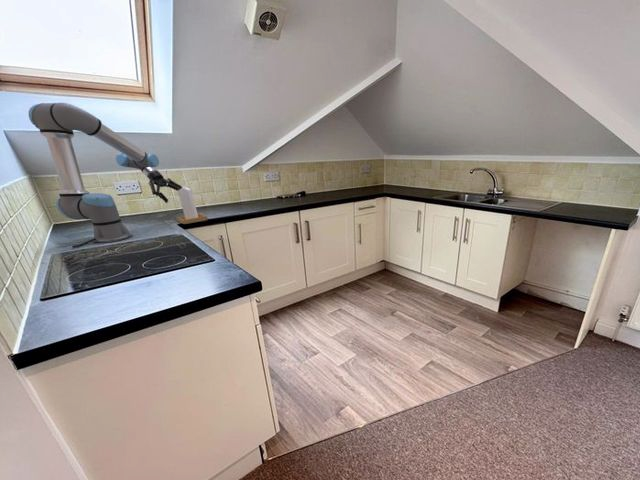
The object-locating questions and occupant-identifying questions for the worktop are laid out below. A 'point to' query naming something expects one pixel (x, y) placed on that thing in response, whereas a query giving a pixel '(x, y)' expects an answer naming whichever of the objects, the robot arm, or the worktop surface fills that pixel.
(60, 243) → the worktop surface
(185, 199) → the milk
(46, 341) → the worktop surface
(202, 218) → the tray
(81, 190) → the robot arm
